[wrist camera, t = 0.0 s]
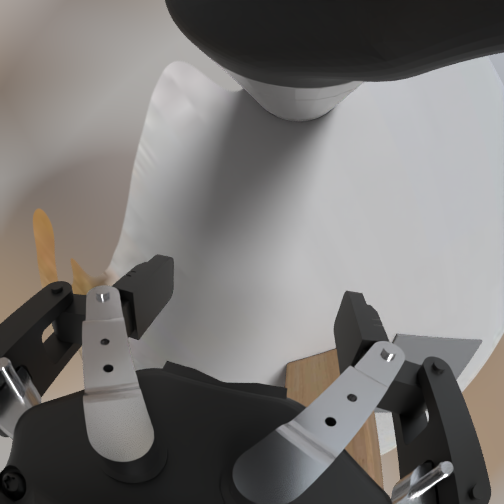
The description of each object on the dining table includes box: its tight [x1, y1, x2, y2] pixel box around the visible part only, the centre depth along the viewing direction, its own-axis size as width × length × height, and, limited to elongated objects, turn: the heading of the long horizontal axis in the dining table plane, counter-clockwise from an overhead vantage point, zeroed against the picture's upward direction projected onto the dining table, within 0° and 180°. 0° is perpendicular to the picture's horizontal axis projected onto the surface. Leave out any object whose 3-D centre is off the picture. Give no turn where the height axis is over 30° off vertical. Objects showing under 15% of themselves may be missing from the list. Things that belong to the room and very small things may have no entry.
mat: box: [374, 334, 482, 412], centre depth 35 cm, size 18×18×1 cm
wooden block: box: [285, 349, 384, 490], centre depth 27 cm, size 10×10×20 cm
